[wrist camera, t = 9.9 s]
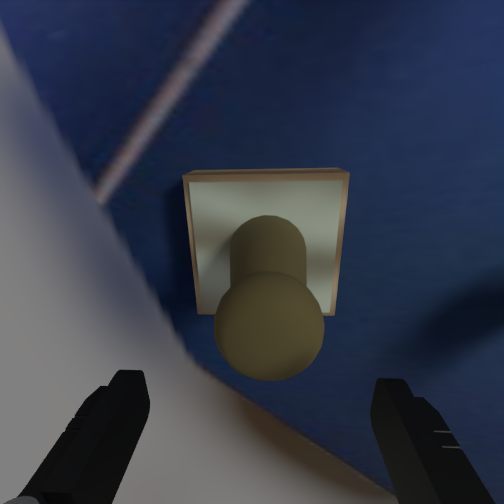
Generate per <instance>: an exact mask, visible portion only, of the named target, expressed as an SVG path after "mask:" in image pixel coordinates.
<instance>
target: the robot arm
mask: <svg viewBox="0 0 504 504" xmlns="http://www.w3.org/2000/svg"><path fill="white" fill-rule="evenodd" d="M149 410H150V399H149V395H148V390H147V386H146V381H145V377H144V373H143V371H141V370H119V371H117V373H116V374H115V375H114V377H113V378H112V380H111V381H110V383H109V385H108V386H100V387H99V388H98V389H97V390H96V391H95V392H93V393H92V394H91V395H90V396H89V397H88V398H87V399H86V400H85V401H84V402H83V404H82V405H81V407H80V408H79V410H78V411H77V413H76V414H75V417H74V418H72V420H71V421H70V423H69V424H68V426H67V427H66V430H65V432H63V433H62V434H61V436H60V437H59V439H58V440H57V442H56V443H55V445H54V446H53V448H52V449H51V450H50V452H49V453H48V455H47V456H46V458H45V459H44V461H43V462H42V463H41V465H40V466H39V468H38V469H37V471H36V472H35V474H34V475H33V477H32V478H31V479H30V481H29V482H28V484H27V485H26V487H25V488H24V489H23V491H22V492H21V493H20V494H19V495H18V496H17V498H14V499H12V500H10V501H7V502H6V503H4V504H112V502H113V500H114V497H115V495H116V493H117V490H118V488H119V485H120V483H121V481H122V478H123V476H124V474H125V471H126V469H127V466H128V464H129V462H130V459H131V457H132V455H133V452H134V450H135V448H136V445H137V443H138V440H139V438H140V436H141V433H142V431H143V429H144V426H145V424H146V421H147V419H148V415H149ZM370 418H371V425H372V429H373V432H374V435H375V438H376V440H377V443H378V446H379V449H380V451H381V454H382V457H383V460H384V463H385V465H386V468H387V471H388V474H389V477H390V479H391V482H392V485H393V488H394V491H395V493H396V496H397V499H398V502H399V504H495V502H494V501H493V499H492V497H491V496H490V494H489V493H488V491H487V489H486V488H485V486H484V484H483V483H482V481H481V480H480V478H479V476H478V475H477V473H476V472H475V470H474V468H473V467H472V465H471V463H470V462H469V460H468V459H467V457H466V455H465V454H464V452H463V450H461V449H460V446H459V444H458V442H457V441H456V439H455V438H454V436H453V434H451V433H450V429H449V428H448V426H447V425H446V423H445V421H444V420H443V418H442V417H441V415H440V413H439V412H438V411H437V410H436V409H435V408H434V407H433V406H432V405H431V404H430V403H428V402H427V401H426V400H425V399H424V398H423V397H414V395H413V394H412V392H411V390H410V388H409V386H408V385H407V383H406V382H405V381H404V380H403V379H392V378H378V379H377V381H376V386H375V390H374V395H373V400H372V404H371V409H370Z"/></svg>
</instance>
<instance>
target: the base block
mask: <svg viewBox="0 0 504 504" xmlns="http://www.w3.org/2000/svg"><path fill="white" fill-rule="evenodd" d="M349 175H350V173H349V172H347V171H344V170H342V169H339V168H292V169H233V170H194V171H191V172H189V173H187V174H184V175H182V176H183V185H184V194H185V203H186V212H187V221H188V230H189V239H190V248H191V257H192V266H193V275H194V284H195V293H196V302H197V311H198V314H216V310H217V308H218V305H219V303H220V300H221V297H222V296H223V295H224V294H225V293H226V292H227V291H228V289H229V288H230V243H231V240H232V238H233V235H234V233H235V232H236V231H237V229H238V228H239V227H240V226H241V225H242V224H243V223H245V222H247V221H248V220H250V219H251V218H255V217H258V216H262V215H272V216H278V217H281V218H284V219H286V220H289V221H290V222H291V223H292V224H294V225H295V226H296V227H297V228H298V229H299V231H300V232H301V234H302V235H303V237H304V240H305V245H306V263H307V287H308V289H309V290H310V291H311V292H312V294H313V295H314V297H315V298H316V300H317V301H318V303H319V305H320V308H321V311H322V315H330V316H334V315H335V305H336V296H337V287H338V277H339V268H340V259H341V250H342V240H343V231H344V222H345V212H346V203H347V194H348V184H349Z"/></svg>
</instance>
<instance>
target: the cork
mask: <svg viewBox="0 0 504 504" xmlns="http://www.w3.org/2000/svg"><path fill="white" fill-rule="evenodd" d="M324 326H325V324H324V320H323V315H322V311H321V308H320V305H319V303H318V301H317V300H316V298H315V297H314V295H313V294H312V292H311V291H310V290H309V289H308V287H307V263H306V245H305V240H304V237H303V235H302V234H301V232H300V231H299V229H298V228H297V227H296V226H295V225H294V224H292V223H291V222H290V221H289V220H286V219H284V218H281V217H278V216H272V215H262V216H258V217H255V218H251V219H250V220H248V221H247V222H245V223H243V224H242V225H241V226H240V227H239V228H238V229H237V231H236V232H235V233H234V235H233V238H232V240H231V243H230V288H229V289H228V291H227V292H226V293H225V294H224V295H223V296H222V297H221V300H220V303H219V305H218V308H217V310H216V314H215V317H214V334H215V341H216V343H217V346H218V348H219V351H220V353H221V354H222V356H223V357H224V359H225V360H226V361H227V362H228V363H229V364H230V365H231V367H232V368H233V369H235V370H237V371H238V372H240V373H241V374H243V375H244V376H247V377H251V378H254V379H257V380H266V381H276V380H282V379H288V378H290V377H292V376H294V375H296V374H299V373H301V372H302V371H303V370H304V369H305V368H307V367H308V366H309V365H310V364H311V363H312V362H313V360H314V359H315V357H316V355H317V354H318V352H319V350H320V348H321V347H322V342H323V336H324Z"/></svg>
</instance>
